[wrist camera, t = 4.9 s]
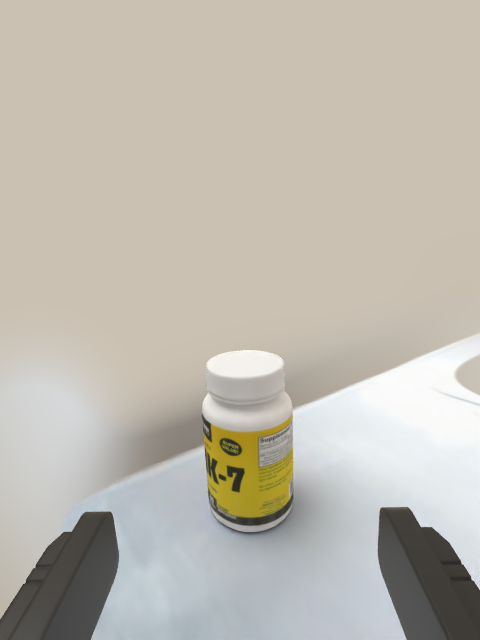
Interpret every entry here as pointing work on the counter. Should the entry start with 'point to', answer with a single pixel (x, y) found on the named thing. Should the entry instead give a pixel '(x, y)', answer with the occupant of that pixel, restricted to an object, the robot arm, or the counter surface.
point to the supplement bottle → (248, 440)
